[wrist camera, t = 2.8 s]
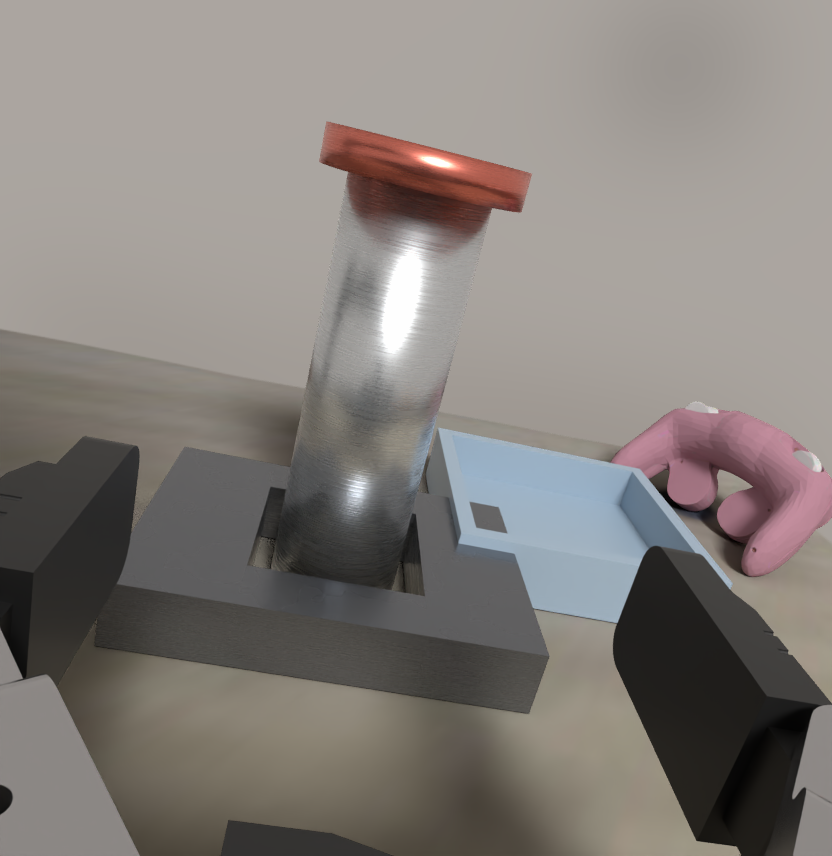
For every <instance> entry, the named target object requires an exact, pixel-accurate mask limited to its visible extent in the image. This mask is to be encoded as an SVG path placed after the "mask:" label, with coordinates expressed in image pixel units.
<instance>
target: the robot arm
mask: <svg viewBox="0 0 832 856" xmlns="http://www.w3.org/2000/svg"><path fill="white" fill-rule="evenodd" d="M138 469H139V449H138V447H137V446H135V445H129V444H124V443H119V442H113V441H108V440H103V439H98V438H92V437H87V436H85V437H83V438H81V439H80V440H79V441H78V442H77V443H76V444H75V445H74V447H73V448H72V449H71V450H70V451H69V452H68V453H67V454H66V455H65V456H64V457H63V458H62V459H61V460H60V461H59V462H58V463H57V464H52V463H46V462H41V461H37V462H34V463H32V464H29V465H27V466H24V467H21V468H19V469H16V470H14V471H11V472H8V473H6V474H5V475H4V476H3V477H2V478H0V856H140V855H139V853H138V851H137V849H136V847H135V845H134V843H133V841H132V839H131V837H130V835H129V833H128V831H127V829H126V827H125V825H124V823H123V821H122V819H121V817H120V815H119V813H118V811H117V809H116V807H115V805H114V803H113V801H112V798H111V796H110V794H109V792H108V790H107V788H106V786H105V784H104V782H103V780H102V778H101V776H100V774H99V772H98V770H97V768H96V766H95V764H94V762H93V760H92V758H91V756H90V754H89V752H88V750H87V748H86V746H85V744H84V742H83V740H82V738H81V736H80V734H79V732H78V730H77V728H76V726H75V724H74V722H73V720H72V717H71V715H70V713H69V711H68V709H67V707H66V705H65V703H64V701H63V699H62V697H61V695H60V693H59V691H58V689H57V685H58V683H59V681H60V680H61V678H62V676H63V675H64V673H65V671H66V669H67V668H68V666H69V664H70V663H71V661H72V659H73V657H74V656H75V654H76V652H77V651H78V649H79V647H80V645H81V644H82V642H83V640H84V639H85V637H86V635H87V633H88V632H89V630H90V628H91V627H92V625H93V623H94V621H95V620H96V618H97V616H98V615H99V613H100V611H101V609H102V608H103V606H104V604H105V603H106V601H107V599H108V597H109V596H110V594H111V592H112V591H113V589H114V587H115V585H116V584H117V582H118V580H119V578H120V576H121V573H122V570H123V567H124V564H125V561H126V557H127V553H128V549H129V544H130V537H131V528H132V520H133V511H134V503H135V494H136V486H137V477H138ZM773 633H774V632H773V631H772V630H771V628H770V627H769V626H768V625H767V624H766V622H765V621H764V620H763V619H762V617H761V616H760V615H759V614H758V613H757V611H756V610H755V609H753V608H752V607H751V606H749V605H748V604H747V603H746V602H744V601H743V600H742V599H740V598H739V597H738V596H736V595H735V594H734V593H733V592H732V591H731V590H730V589H729V587H728V586H727V585H726V584H725V582H724V581H723V580H722V579H721V577H720V576H719V575H718V574H717V572H716V571H715V570H714V569H713V567H712V566H711V565H710V564H709V562H708V561H707V560H706V559H705V557H704V556H703V555H701V554H698V553H693V552H688V551H682V550H677V549H672V548H667V547H661V546H652V547H650V548H649V549H648V550H647V551H646V553H645V554H644V556H643V558H642V561H641V563H640V566H639V568H638V571H637V573H636V576H635V579H634V581H633V584H632V586H631V589H630V592H629V594H628V597H627V599H626V602H625V605H624V607H623V610H622V612H621V615H620V618H619V620H618V623H617V626H616V629H615V633H614V639H613V655H614V661H615V665H616V667H617V670H618V672H619V674H620V676H621V678H622V680H623V683H624V685H625V687H626V689H627V691H628V693H629V696H630V698H631V700H632V702H633V704H634V706H635V709H636V711H637V713H638V715H639V717H640V719H641V722H642V724H643V726H644V728H645V730H646V732H647V735H648V737H649V739H650V741H651V743H652V745H653V748H654V750H655V752H656V754H657V756H658V758H659V761H660V763H661V765H662V767H663V769H664V771H665V774H666V776H667V778H668V780H669V782H670V784H671V787H672V789H673V791H674V793H675V795H676V797H677V800H678V802H679V804H680V806H681V808H682V810H683V813H684V815H685V817H686V819H687V821H688V823H689V826H690V828H691V830H692V832H693V834H694V836H695V839H696V841H700V842H708V843H715V844H722V845H730V846H737V848H738V849H739V851H740V854H739V856H832V703H831V702H830V701H829V700H828V698H827V697H826V696H825V695H824V693H823V692H822V691H821V690H820V689H819V687H818V686H817V685H816V684H815V682H814V681H813V680H812V679H811V678H810V676H809V675H808V674H807V673H806V671H805V670H804V669H803V668H802V666H801V665H800V664H799V663H798V662H797V660H796V659H795V658H794V657H793V655H788V649H787V648H786V647H785V646H784V644H783V643H782V642H781V641H780V640H779V638H778V637H776V636H773ZM221 856H392V855H390V854H387V853H384V852H381V851H379V850H376V849H373V848H371V847H368V846H365V845H362V844H360V843H357V842H354V841H351V840H349V839H346V838H343V837H341V836H338V835H335V834H332V833H324V832H317V831H309V830H301V829H293V828H285V827H278V826H270V825H262V824H254V823H247V822H239V821H231V820H228V825H227V829H226V834H225V839H224V843H223V848H222V853H221Z"/></svg>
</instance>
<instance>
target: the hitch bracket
mask: <svg viewBox="0 0 832 856" xmlns="http://www.w3.org/2000/svg"><path fill="white" fill-rule="evenodd" d="M289 472H290V467H287V466H282V465H277V464H272V463H266V462H261V461H256V460H251V459H246V458H240V457H235V456H230V455H225V454H220V453H214V452H209V451H204V450H199V449H194V448H188V447H184V449H183V450H182V452H181V454H180V455H179V457H178V458H177V460H176V462H175V463H174V465H173V466H172V468H171V470H170V471H169V473H168V474H167V476H166V478H165V479H164V481H163V483H162V484H161V486H160V487H159V489H158V491H157V492H156V494H155V495H154V497H153V499H152V500H151V502H150V504H149V505H148V507H147V508H146V510H145V512H144V513H143V515H142V516H141V518H140V520H139V521H138V523H137V525H136V526H135V528H134V529H133V531H132V533H131V537H130V544H129V549H128V553H127V557H126V561H125V564H124V567H123V570H122V573H121V576H120V578H119V580H118V582H117V584H116V585H115V587H114V589H113V591H112V592H111V594H110V596H109V597H108V599H107V601H106V603H105V604H104V606H103V608H102V609H101V611H100V613H99V615H98V617H97V626H96V636H95V645H94V646H100V647H106V648H112V649H119V650H125V651H132V652H138V653H144V654H151V655H157V656H164V657H170V658H176V659H183V660H189V661H196V662H202V663H209V664H215V665H221V666H228V667H234V668H241V669H247V670H253V671H260V672H266V673H273V674H279V675H285V676H292V677H298V678H305V679H311V680H317V681H324V682H330V683H337V684H343V685H349V686H356V687H362V688H369V689H375V690H381V691H388V692H394V693H401V694H407V695H414V696H420V697H426V698H433V699H439V700H446V701H452V702H458V703H465V704H471V705H478V706H484V707H490V708H497V709H503V710H510V711H516V712H522V713H529V712H530V709H531V706H532V704H533V701H534V698H535V695H536V692H537V690H538V687H539V684H540V681H541V678H542V676H543V673H544V670H545V667H546V665H547V662H548V659H549V654H548V651H547V648H546V645H545V642H544V639H543V636H542V633H541V630H540V627H539V624H538V621H537V618H536V615H535V612H534V609H533V606H532V604H531V601H530V598H529V595H528V592H527V589H526V586H525V583H524V580H523V577H522V574H521V571H520V568H519V565H518V562H517V559H516V556H515V554H514V553H508V552H503V551H497V550H492V549H487V548H481V547H476V546H470V545H465V544H460V543H458V539H457V534H456V530H455V525H454V520H453V515H452V510H451V506H450V501H449V498H448V497H443V496H438V495H433V494H428V493H422V492H417V496H416V499H415V503H414V507H413V511H412V515H411V519H410V522H409V526H408V530H407V534H406V538H405V541H404V545H403V549H402V553H401V557H400V560H399V561H402V562H403V566H404V580H405V593H403V592H397V591H392V590H386V589H380V588H374V587H369V586H363V585H357V584H351V583H346V582H340V581H334V580H328V579H323V578H317V577H311V576H305V575H300V574H294V573H288V572H282V571H277V570H271V569H265V568H259V567H254V566H253V564H254V560H255V557H256V553H257V550H258V546H259V543H260V539H261V536H263V537H268V538H274V539H276V538H277V533H278V528H279V523H280V518H281V513H282V507H283V502H284V497H285V492H286V487H287V482H288V477H289ZM469 503H470V506H471V510H472V514H473V518H474V522H475V525H476V528H480V529H485V530H491V531H496V532H501V533H507V530H506V527H505V524H504V521H503V518H502V515H501V512H500V509H499V507H495V506H490V505H485V504H480V503H474V502H469ZM507 534H508V533H507Z"/></svg>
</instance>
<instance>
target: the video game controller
mask: <svg viewBox="0 0 832 856" xmlns="http://www.w3.org/2000/svg"><path fill="white" fill-rule="evenodd" d="M610 463H614V464H619V465H623V466H628V467H633V468H638V469H640V470H641V471H642V472H643V473H644V475H645V476H646V477H647V478H648V479H650V478H652V477H653V476H655V475H657V474H658V473H660V472H662V471H663V470H669V472H670V473H669V479H668V484H667V491H668V494H669V496H670V498H671V499H672V500H673V501H675V502H676V503H677V504H678V505H679V506H681V507H682V508H684V509H686V510H688V511H701V510H703V509H706V508H707V507H709V506H710V505H711V504H712V503H713V501H714V500H715V498H716V495H717V490H718V480H717V473H718V471H719V469H721V470H724V471H727V472H730V473H732V474H734V475H736V476H738V477H740V478H741V479H743V480H745V481H746V482H748V483H749V484H751V485H752V486H753V487H752V488H750V489H747V490H742V491H738V492H736V493H734V494H732V495H730V496H728V497H727V498H726V499H725V500H724V501H723V502H722V503H721V505H720V506H719V508H718V512H717V519H718V523H719V524H720V526H721V527H722V529H723V530H724V532H725V533H726V534H727V535H728V536H729V537H731V538H732V539H733V540H735V541H738V542H740V543H745V544H747V545H746V547H745V549H744V553H743V557H742V561H741V563H742V570H743V572H744V573H745V574H746V575H748V576H751V577H755V576H762V575H765V574H768V573H770V572H772V571H773V570H775V569H777V568H778V567H780V566H781V565H782V564H784V563H785V562H787V561H788V560H789V559H790V558H791V557H792V556H793V555H794V554H795V553H796V552H797V551H798V550H799V549H800V548H801V547H802V545H803V544H804V543H805V542H806V541H807V539H808V538H809V537H810V536H811V535H812V534H813V532H814V531H815V530H816V529H818V528H820V527H822V526H823V525H824V524H826V523H827V522H828V521H829V520H830V519H831V518H832V479H831V477H830V476H829V475H828V473H827V472H826V471H825V469H824V468H823V466H822V465H821V463H820V461H819V460H818V458H817V457H816V456H815V455H814V454H812V453H810V452H809V451H808V450H807V449H806V448H805V447H803V446H802V445H801V444H800V443H798V442H797V441H796V440H795V439H793V438H792V437H791V436H790V435H788V434H787V433H785V432H783V431H781V430H780V429H778V428H776V427H774V426H772V425H770V424H767V423H765V422H763V421H761V420H759V419H757V418H754V417H752V416H749V415H747V414H745V413H742V412H739V411H732V412H730V411H724V410H718V409H715V408H713V407H707V406H706V405H704V404H703V403H701V402H698V401H697V402H692V403H690V404H689V405H687V407H686V408H683V409H675V410H673V411H671V412H669V413H668V414H666V415H664V416H663V417H662V418H661V419H659V420H658V421H657V422H656V423H654V424H653V425H652V426H651V427H649V428H648V429H647V430H645V431H644V432H643V433H641V434H640V435H639V436H637V437H636V438H635V439H633V440H632V441H631V442H629V443H628V444H626V445H625V446H624V447H623V448H622V449H621V450H620V451H618V452H617V453H616V455H615V456H614V457H613V459H612V460H611V462H610Z"/></svg>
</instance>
